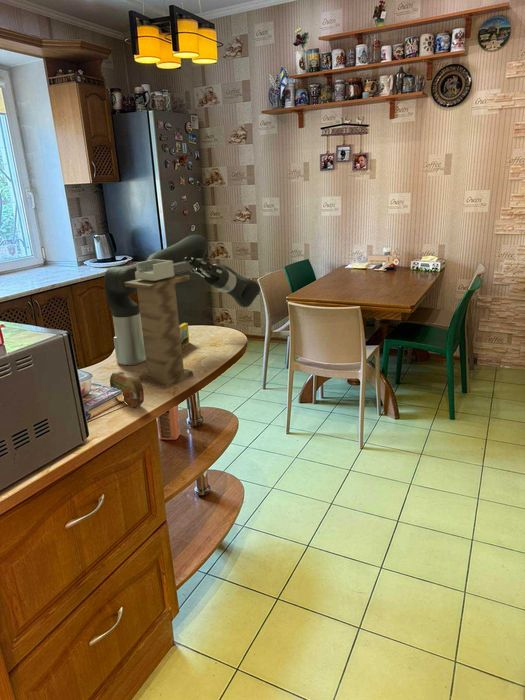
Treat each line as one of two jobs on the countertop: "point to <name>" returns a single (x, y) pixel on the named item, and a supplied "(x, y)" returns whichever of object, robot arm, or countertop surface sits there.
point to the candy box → (184, 334)
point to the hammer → (161, 269)
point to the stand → (161, 330)
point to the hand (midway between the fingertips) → (188, 260)
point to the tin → (128, 388)
